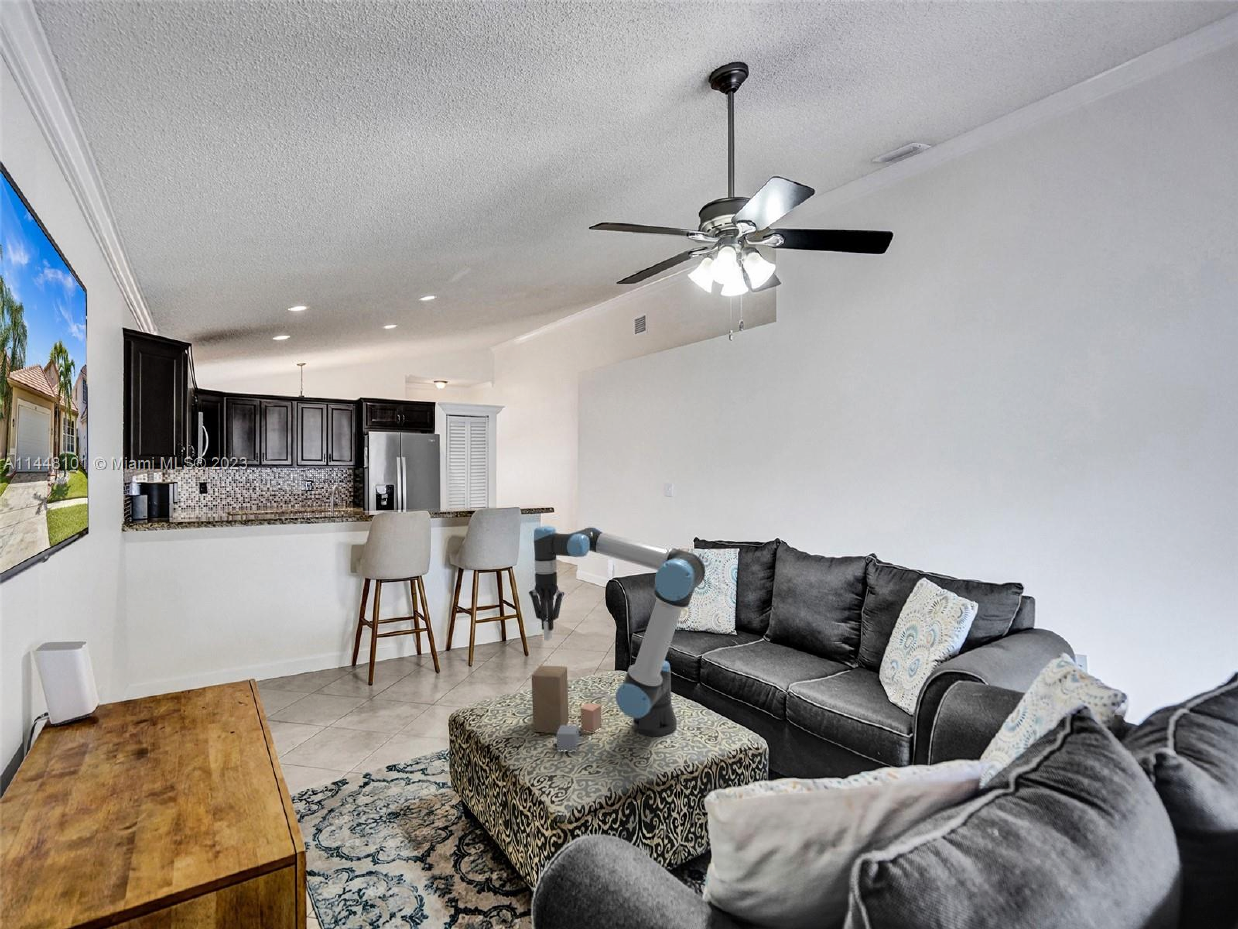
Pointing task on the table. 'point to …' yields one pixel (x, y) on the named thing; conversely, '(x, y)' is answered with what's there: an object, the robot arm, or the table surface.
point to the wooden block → (550, 698)
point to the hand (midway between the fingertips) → (548, 639)
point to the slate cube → (567, 737)
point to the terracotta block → (591, 717)
